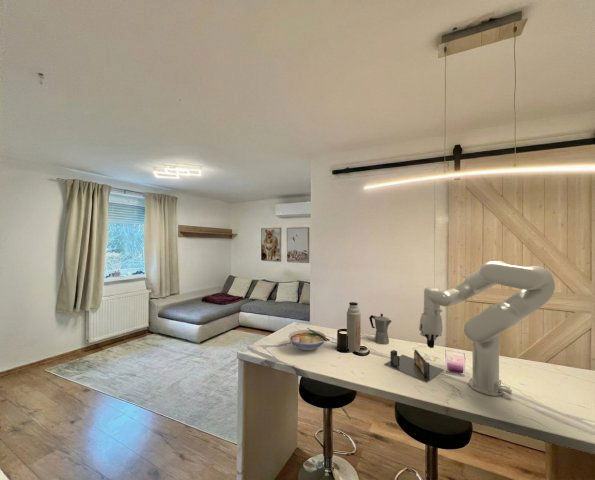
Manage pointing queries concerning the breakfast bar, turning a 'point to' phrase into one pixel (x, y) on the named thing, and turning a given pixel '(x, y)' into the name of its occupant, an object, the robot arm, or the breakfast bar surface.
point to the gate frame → (413, 367)
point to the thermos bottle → (354, 327)
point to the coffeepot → (381, 328)
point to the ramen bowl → (307, 339)
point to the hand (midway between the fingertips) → (430, 346)
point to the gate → (419, 360)
